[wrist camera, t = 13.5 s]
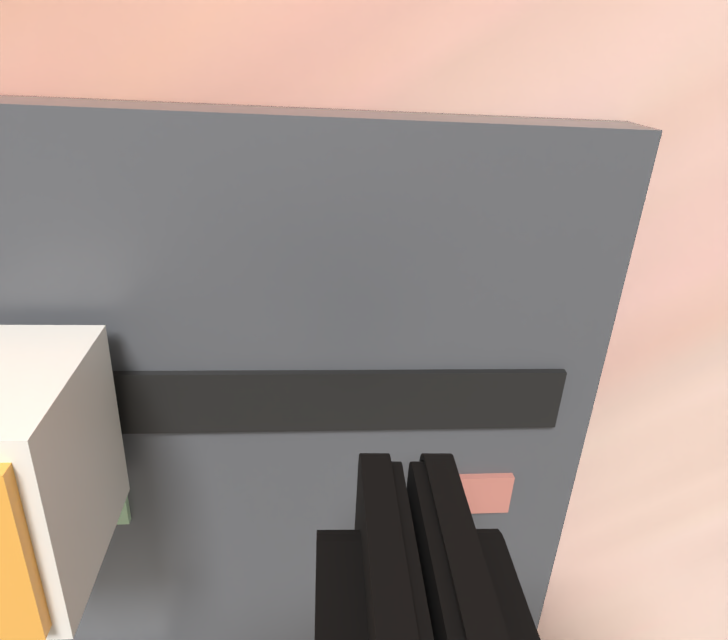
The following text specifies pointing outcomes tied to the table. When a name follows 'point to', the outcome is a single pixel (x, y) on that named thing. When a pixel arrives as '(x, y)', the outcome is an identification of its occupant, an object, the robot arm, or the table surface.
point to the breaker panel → (317, 325)
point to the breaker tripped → (55, 475)
